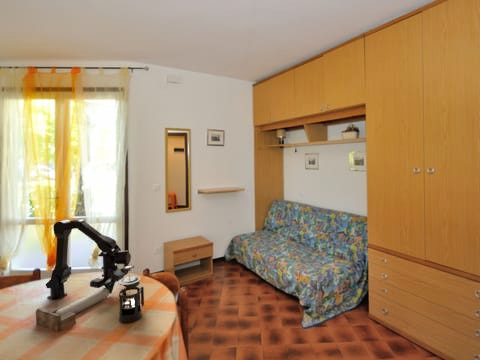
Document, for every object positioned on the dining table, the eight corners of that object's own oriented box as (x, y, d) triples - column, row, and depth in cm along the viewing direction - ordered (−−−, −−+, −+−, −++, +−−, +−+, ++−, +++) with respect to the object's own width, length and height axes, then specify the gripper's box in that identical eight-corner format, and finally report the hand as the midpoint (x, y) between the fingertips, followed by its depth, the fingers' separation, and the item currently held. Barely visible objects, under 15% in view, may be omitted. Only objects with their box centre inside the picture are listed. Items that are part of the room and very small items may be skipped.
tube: (60, 315, 112) (109, 290, 135) (52, 309, 114) (102, 285, 137) (58, 326, 113) (107, 299, 136) (50, 320, 115) (100, 294, 138)
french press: (125, 327, 110) (124, 272, 109) (113, 320, 116) (111, 267, 115) (149, 314, 120) (148, 263, 119) (136, 308, 125) (135, 260, 124)
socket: (36, 324, 113) (35, 309, 112) (54, 315, 119) (54, 301, 119) (57, 332, 107) (57, 316, 107) (75, 322, 114) (75, 307, 114)
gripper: (105, 272, 126) (106, 305, 127) (134, 260, 143) (135, 288, 144) (88, 269, 130) (89, 300, 131) (119, 257, 147) (120, 285, 148)
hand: (110, 293), depth 138 cm, fingers closed
